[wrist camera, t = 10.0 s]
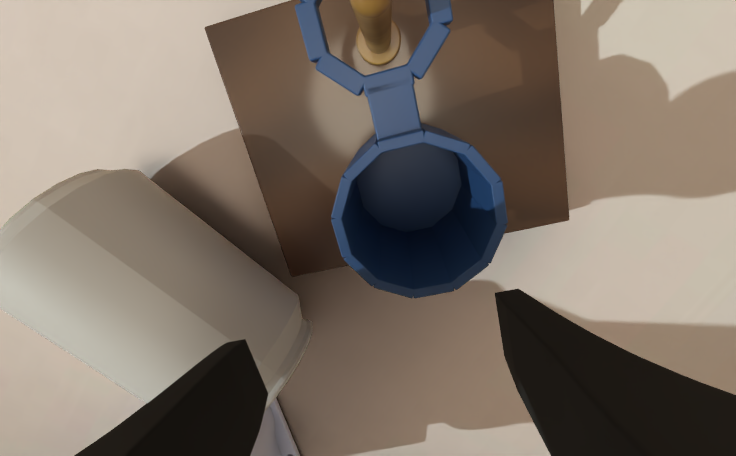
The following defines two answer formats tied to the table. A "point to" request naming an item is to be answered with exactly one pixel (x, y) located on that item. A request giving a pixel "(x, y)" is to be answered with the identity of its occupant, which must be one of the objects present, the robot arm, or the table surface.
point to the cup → (409, 177)
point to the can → (142, 285)
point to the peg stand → (433, 94)
